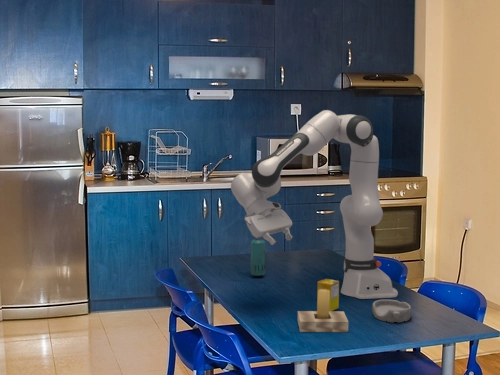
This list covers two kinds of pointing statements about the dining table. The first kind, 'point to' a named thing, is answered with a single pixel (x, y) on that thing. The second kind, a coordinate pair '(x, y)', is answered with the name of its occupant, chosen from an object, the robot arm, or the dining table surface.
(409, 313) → the dish
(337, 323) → the hole block
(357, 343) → the dining table surface
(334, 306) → the supplement box
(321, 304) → the pin
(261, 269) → the beverage bottle
